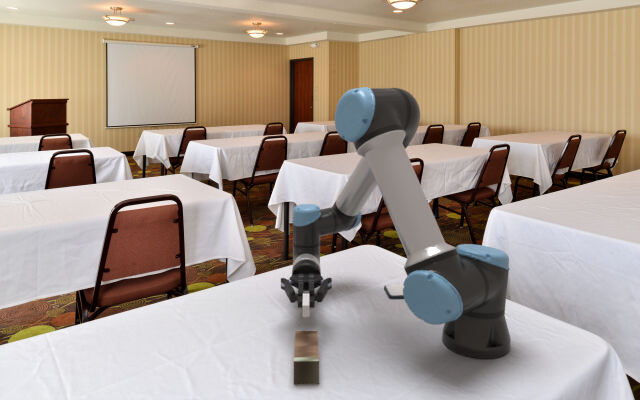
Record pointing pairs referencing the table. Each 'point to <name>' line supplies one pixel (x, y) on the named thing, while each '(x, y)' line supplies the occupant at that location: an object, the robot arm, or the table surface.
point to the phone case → (394, 291)
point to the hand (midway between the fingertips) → (305, 311)
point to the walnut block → (306, 357)
